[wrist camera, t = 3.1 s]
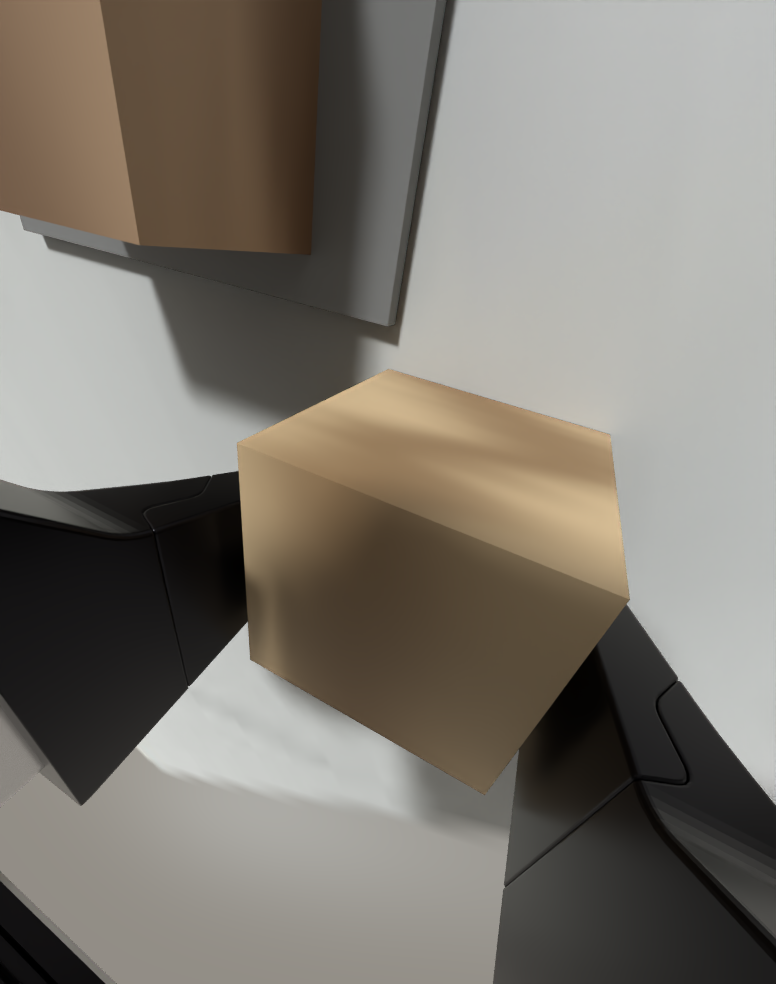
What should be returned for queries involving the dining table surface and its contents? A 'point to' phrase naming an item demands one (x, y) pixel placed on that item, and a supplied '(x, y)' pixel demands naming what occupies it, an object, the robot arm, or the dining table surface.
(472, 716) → the oak cube
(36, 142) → the walnut block
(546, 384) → the dining table surface
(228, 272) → the slate mat
